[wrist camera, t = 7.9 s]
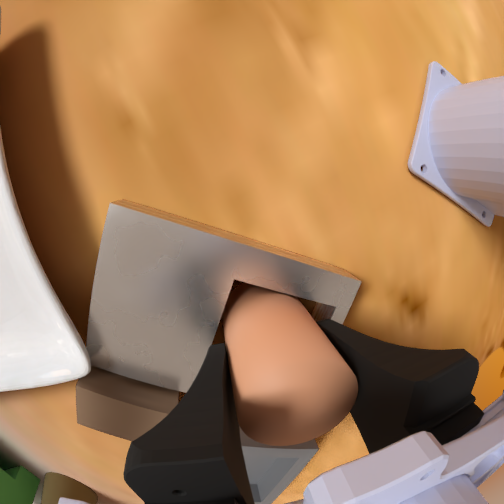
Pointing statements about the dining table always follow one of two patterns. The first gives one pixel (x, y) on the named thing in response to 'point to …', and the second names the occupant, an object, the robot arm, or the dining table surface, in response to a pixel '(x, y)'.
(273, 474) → the tray
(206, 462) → the robot arm
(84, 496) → the brown pawn
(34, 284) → the salad plate
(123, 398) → the block
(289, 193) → the dining table surface
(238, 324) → the dowel
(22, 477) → the ramp block with notch
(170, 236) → the grey flat frame
